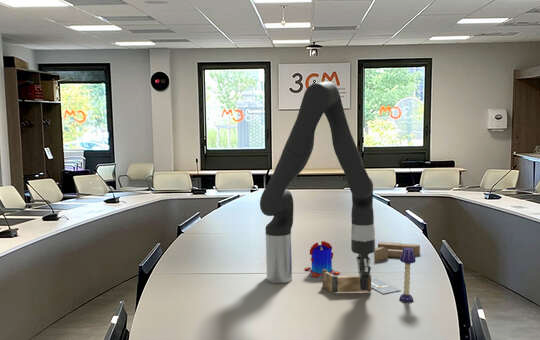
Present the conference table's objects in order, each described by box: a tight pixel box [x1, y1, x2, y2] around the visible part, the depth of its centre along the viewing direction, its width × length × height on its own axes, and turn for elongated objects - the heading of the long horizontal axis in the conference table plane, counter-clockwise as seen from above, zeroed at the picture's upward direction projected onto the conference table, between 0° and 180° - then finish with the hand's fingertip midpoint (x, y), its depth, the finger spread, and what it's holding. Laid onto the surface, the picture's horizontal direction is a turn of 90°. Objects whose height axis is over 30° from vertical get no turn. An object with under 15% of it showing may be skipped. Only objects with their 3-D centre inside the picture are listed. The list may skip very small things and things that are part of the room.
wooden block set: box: [373, 241, 421, 262], centre depth 199 cm, size 17×6×18 cm
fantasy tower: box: [303, 240, 341, 279], centre depth 182 cm, size 12×12×12 cm
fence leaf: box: [332, 274, 372, 293], centre depth 160 cm, size 13×2×5 cm, turn 89°
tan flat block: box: [321, 269, 335, 293], centre depth 164 cm, size 7×2×6 cm, turn 22°
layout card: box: [371, 277, 402, 295], centre depth 165 cm, size 14×7×1 cm, turn 22°
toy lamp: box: [399, 248, 416, 303], centre depth 151 cm, size 5×5×17 cm
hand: (364, 289), depth 156 cm, fingers closed
